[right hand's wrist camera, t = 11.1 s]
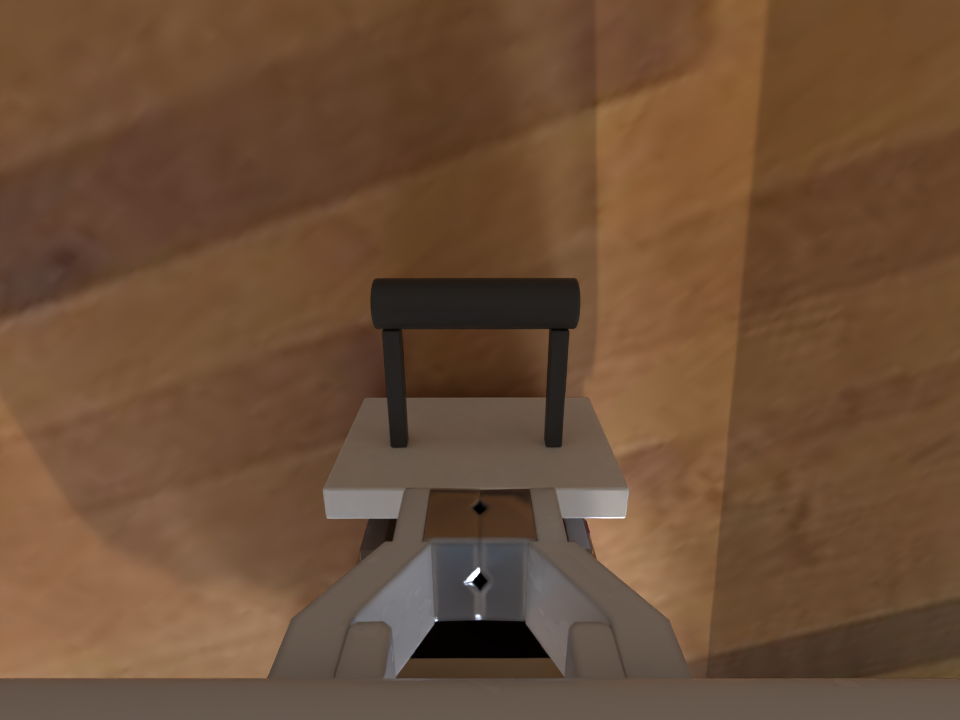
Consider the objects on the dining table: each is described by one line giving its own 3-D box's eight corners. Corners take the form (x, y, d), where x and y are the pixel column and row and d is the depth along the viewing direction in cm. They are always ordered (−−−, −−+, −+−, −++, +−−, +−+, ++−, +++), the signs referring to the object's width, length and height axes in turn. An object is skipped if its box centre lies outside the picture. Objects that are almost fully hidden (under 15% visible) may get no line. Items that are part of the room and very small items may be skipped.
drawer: (351, 256, 21) (295, 301, 14) (601, 255, 21) (653, 301, 14) (388, 658, 29) (362, 798, 23) (567, 657, 29) (591, 797, 23)
